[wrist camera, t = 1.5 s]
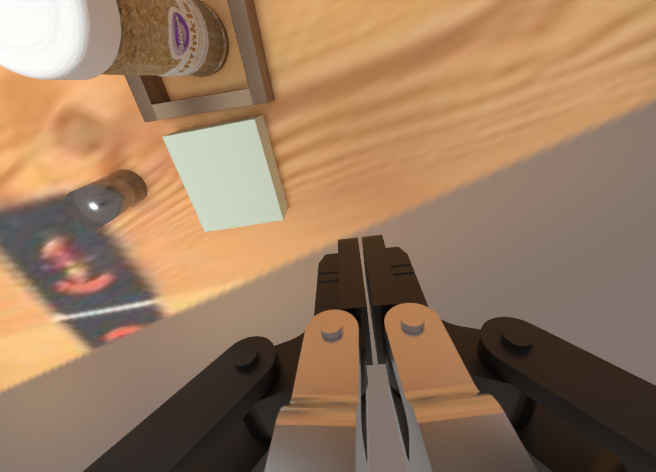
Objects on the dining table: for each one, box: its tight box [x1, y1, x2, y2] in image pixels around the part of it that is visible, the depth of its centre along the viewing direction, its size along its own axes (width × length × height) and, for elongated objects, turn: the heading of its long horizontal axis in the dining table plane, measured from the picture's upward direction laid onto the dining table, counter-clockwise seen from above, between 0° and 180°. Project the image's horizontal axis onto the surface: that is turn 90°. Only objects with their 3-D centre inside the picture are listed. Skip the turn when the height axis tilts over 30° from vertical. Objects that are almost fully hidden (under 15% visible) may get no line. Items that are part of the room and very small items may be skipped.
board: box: [163, 114, 288, 232], centre depth 24 cm, size 7×8×3 cm
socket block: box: [125, 0, 274, 122], centre depth 19 cm, size 9×9×2 cm
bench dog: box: [65, 170, 147, 228], centre depth 23 cm, size 3×3×5 cm
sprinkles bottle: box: [0, 0, 228, 80], centre depth 14 cm, size 5×5×13 cm
